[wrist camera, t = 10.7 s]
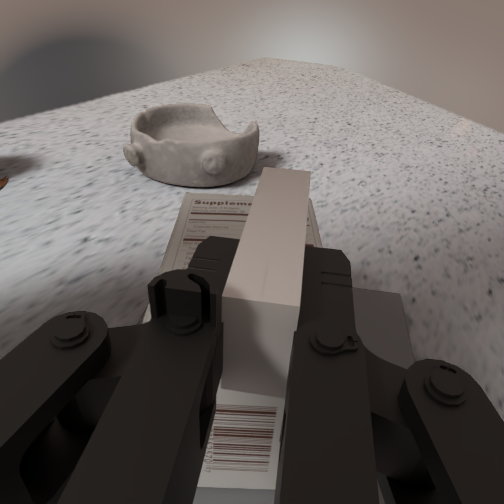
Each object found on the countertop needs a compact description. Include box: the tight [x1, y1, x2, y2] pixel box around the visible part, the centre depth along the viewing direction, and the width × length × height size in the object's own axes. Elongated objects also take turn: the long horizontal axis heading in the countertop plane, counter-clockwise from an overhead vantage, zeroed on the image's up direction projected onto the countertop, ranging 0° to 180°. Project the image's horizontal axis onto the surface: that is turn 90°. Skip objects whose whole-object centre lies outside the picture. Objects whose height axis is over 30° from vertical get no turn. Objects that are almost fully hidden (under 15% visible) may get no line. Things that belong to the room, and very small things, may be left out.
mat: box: [137, 287, 415, 504], centre depth 19 cm, size 24×16×1 cm, turn 171°
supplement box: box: [142, 192, 322, 490], centre depth 20 cm, size 7×7×13 cm
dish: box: [123, 103, 259, 187], centre depth 45 cm, size 14×14×5 cm
